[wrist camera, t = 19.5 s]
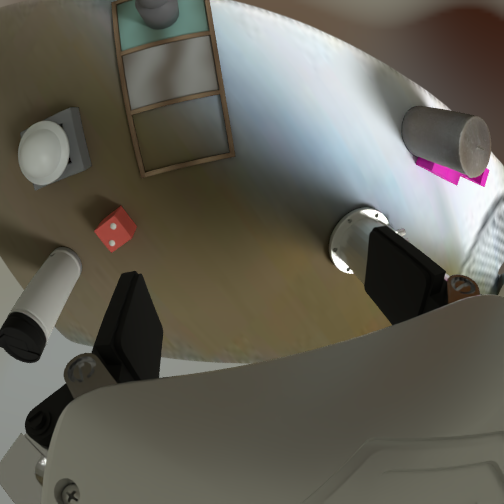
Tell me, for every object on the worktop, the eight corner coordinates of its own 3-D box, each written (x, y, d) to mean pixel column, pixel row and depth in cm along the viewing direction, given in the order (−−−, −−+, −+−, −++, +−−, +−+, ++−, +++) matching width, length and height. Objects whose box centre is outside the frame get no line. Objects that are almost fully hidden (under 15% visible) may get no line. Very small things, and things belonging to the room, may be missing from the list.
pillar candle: (438, 111, 38) (499, 124, 26) (433, 159, 43) (492, 183, 30) (402, 100, 37) (469, 109, 24) (398, 154, 41) (461, 178, 28)
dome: (72, 110, 27) (48, 111, 21) (85, 167, 32) (64, 179, 26) (26, 132, 27) (-1, 139, 21) (39, 185, 31) (15, 201, 25)
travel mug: (49, 242, 37) (-11, 322, 19) (83, 251, 39) (34, 339, 21) (49, 273, 39) (1, 357, 22) (81, 282, 41) (43, 373, 24)
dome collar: (78, 107, 29) (70, 107, 26) (91, 166, 33) (84, 170, 31) (30, 130, 28) (20, 132, 25) (44, 184, 32) (35, 190, 30)
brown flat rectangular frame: (205, -19, 23) (206, -20, 23) (234, 156, 37) (235, 156, 37) (112, 3, 22) (111, 2, 22) (142, 177, 36) (141, 178, 35)
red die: (121, 205, 37) (114, 215, 33) (136, 226, 39) (131, 238, 35) (101, 220, 37) (93, 231, 34) (117, 240, 39) (111, 253, 36)
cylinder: (177, -2, 24) (172, -32, 16) (181, 24, 26) (177, -1, 18) (142, 6, 24) (127, -21, 15) (145, 33, 26) (131, 11, 18)
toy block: (415, 164, 43) (443, 175, 37) (424, 133, 40) (453, 141, 34) (456, 186, 47) (480, 198, 41) (463, 160, 45) (489, 170, 38)
